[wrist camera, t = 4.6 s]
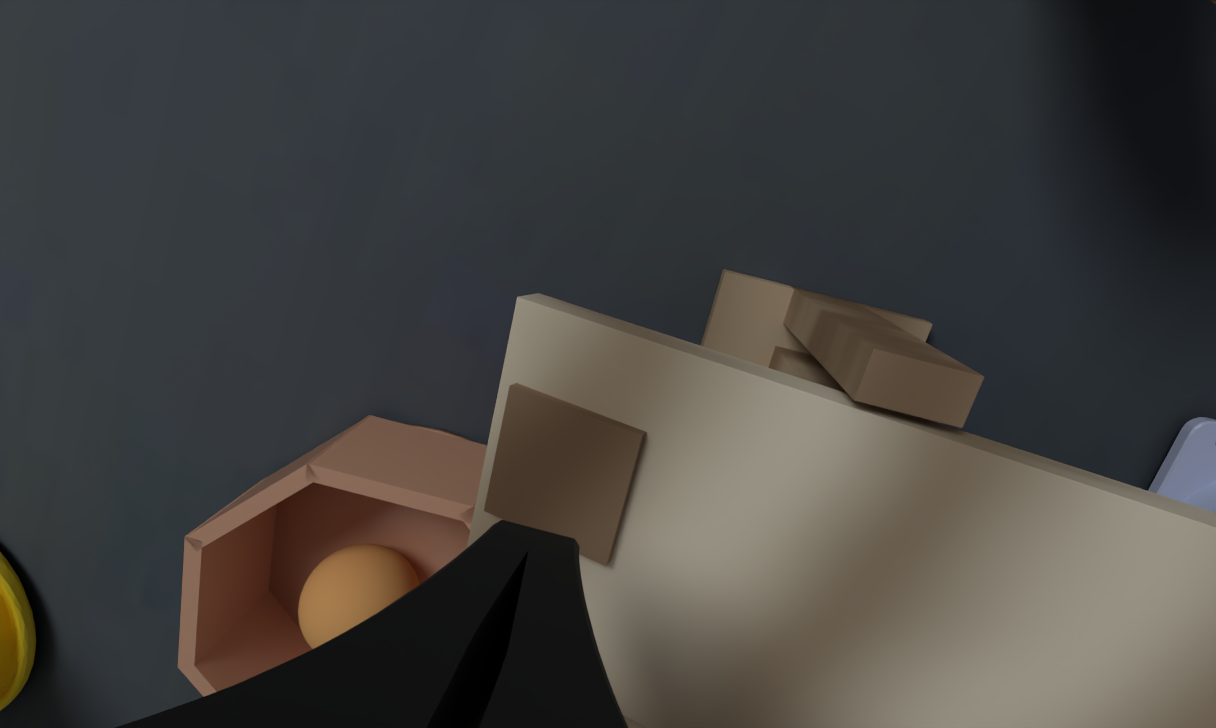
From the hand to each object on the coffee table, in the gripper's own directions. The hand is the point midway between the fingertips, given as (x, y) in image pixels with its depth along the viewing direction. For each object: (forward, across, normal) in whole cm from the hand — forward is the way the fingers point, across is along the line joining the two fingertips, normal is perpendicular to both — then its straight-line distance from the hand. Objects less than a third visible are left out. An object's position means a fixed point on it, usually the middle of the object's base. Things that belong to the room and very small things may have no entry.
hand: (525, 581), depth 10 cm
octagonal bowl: (+10, +4, +8) cm, 13 cm away
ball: (+8, +5, +8) cm, 12 cm away
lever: (+3, -6, +4) cm, 8 cm away
